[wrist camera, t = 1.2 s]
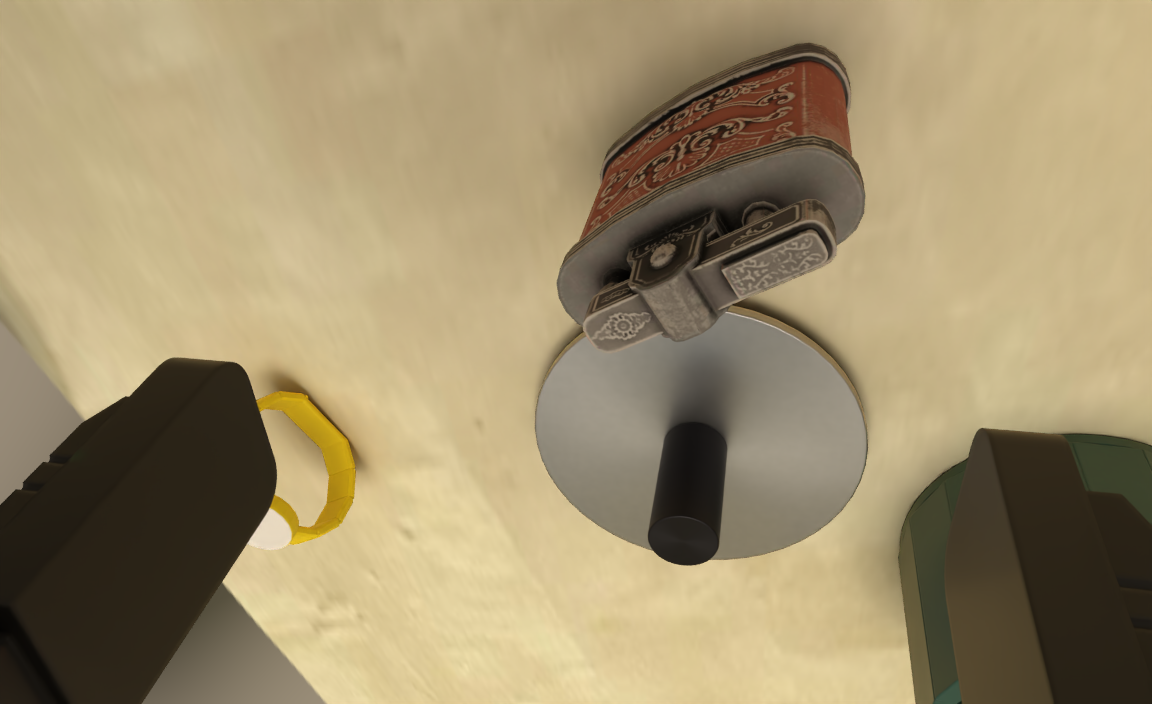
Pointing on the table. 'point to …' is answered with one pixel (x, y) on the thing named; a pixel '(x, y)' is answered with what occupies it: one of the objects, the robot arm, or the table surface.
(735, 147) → the lighter
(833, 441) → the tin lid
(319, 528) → the watch
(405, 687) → the table surface
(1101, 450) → the tin
